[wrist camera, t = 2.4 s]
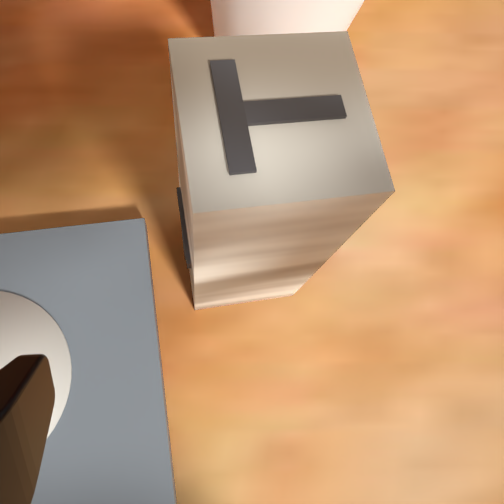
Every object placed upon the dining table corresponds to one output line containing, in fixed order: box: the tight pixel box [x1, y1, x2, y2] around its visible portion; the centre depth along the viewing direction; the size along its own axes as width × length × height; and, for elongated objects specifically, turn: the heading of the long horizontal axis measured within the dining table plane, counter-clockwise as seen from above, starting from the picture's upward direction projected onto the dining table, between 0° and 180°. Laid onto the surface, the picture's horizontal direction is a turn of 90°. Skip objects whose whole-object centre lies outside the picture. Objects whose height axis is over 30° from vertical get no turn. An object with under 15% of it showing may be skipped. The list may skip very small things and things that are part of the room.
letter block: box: [168, 31, 395, 310], centre depth 15 cm, size 5×5×11 cm
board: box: [0, 218, 177, 504], centre depth 17 cm, size 14×12×1 cm
